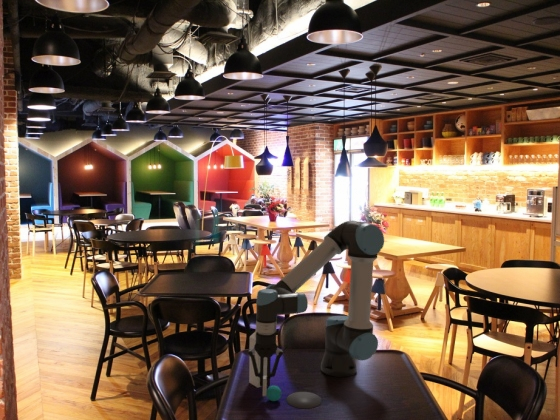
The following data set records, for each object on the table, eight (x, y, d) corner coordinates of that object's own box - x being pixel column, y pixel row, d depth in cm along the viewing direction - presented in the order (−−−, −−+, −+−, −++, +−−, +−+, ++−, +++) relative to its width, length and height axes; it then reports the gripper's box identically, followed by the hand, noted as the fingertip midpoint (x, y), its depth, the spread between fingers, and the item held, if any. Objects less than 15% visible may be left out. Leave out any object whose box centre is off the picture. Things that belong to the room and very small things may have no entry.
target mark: (319, 392, 190) (319, 391, 190) (323, 408, 177) (323, 407, 177) (285, 392, 189) (285, 391, 189) (287, 408, 176) (287, 408, 176)
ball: (272, 399, 185) (283, 390, 185) (273, 407, 180) (284, 397, 180) (263, 389, 185) (274, 379, 185) (263, 396, 179) (275, 386, 179)
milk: (257, 388, 193) (257, 333, 191) (249, 382, 198) (249, 329, 196) (270, 384, 197) (270, 330, 195) (261, 378, 201) (261, 326, 200)
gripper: (248, 335, 177) (246, 398, 178) (284, 335, 177) (282, 399, 179) (248, 328, 184) (247, 389, 186) (283, 329, 184) (281, 390, 186)
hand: (264, 394), depth 182 cm, fingers closed
